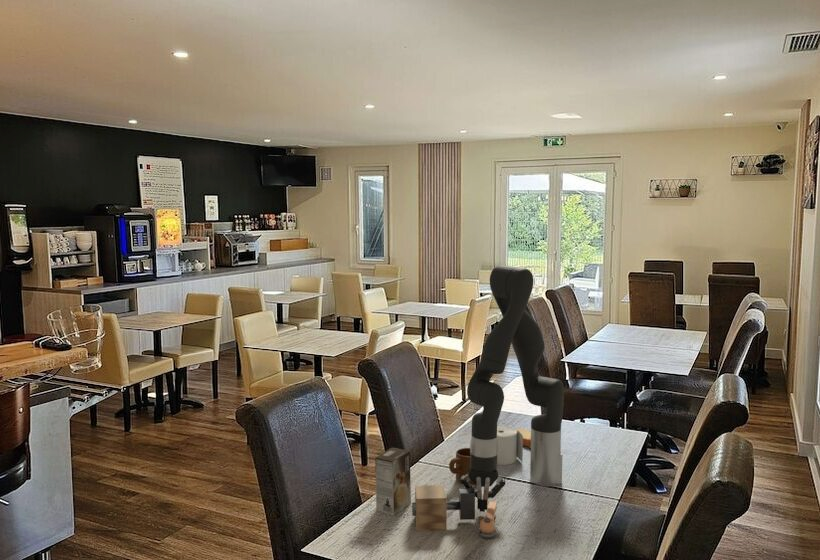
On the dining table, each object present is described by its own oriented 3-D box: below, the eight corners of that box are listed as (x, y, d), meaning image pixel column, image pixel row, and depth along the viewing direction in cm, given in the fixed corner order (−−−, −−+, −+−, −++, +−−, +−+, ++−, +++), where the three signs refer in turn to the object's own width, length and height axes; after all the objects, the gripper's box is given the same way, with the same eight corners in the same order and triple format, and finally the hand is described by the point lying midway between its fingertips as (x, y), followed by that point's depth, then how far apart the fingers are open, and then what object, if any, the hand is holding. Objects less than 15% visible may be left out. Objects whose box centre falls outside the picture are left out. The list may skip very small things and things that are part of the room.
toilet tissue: (484, 453, 222) (484, 425, 221) (518, 453, 222) (518, 425, 221) (486, 465, 211) (487, 436, 210) (522, 465, 211) (523, 436, 210)
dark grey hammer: (473, 514, 175) (473, 488, 174) (474, 519, 172) (475, 493, 171) (412, 515, 174) (411, 489, 173) (412, 521, 171) (412, 494, 170)
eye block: (443, 515, 177) (443, 485, 176) (446, 530, 169) (446, 498, 168) (415, 516, 177) (415, 485, 176) (416, 530, 169) (416, 498, 168)
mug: (459, 492, 191) (459, 462, 190) (441, 484, 197) (440, 455, 196) (484, 480, 199) (484, 452, 198) (466, 473, 205) (466, 445, 204)
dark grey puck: (494, 530, 169) (494, 526, 169) (497, 538, 164) (497, 535, 164) (477, 530, 168) (477, 527, 168) (480, 539, 164) (480, 535, 164)
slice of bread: (501, 432, 244) (501, 422, 243) (548, 434, 241) (548, 424, 240) (500, 449, 226) (500, 439, 226) (551, 452, 223) (551, 442, 223)
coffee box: (393, 498, 188) (392, 446, 186) (411, 503, 185) (411, 450, 183) (375, 510, 180) (374, 456, 178) (394, 516, 177) (393, 461, 175)
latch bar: (499, 508, 178) (499, 498, 178) (493, 534, 164) (493, 523, 164) (486, 507, 179) (486, 497, 179) (479, 532, 165) (479, 521, 165)
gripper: (459, 455, 172) (458, 515, 174) (508, 457, 170) (506, 518, 173) (460, 444, 179) (459, 502, 181) (507, 447, 178) (505, 505, 180)
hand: (482, 510), depth 177 cm, fingers closed
